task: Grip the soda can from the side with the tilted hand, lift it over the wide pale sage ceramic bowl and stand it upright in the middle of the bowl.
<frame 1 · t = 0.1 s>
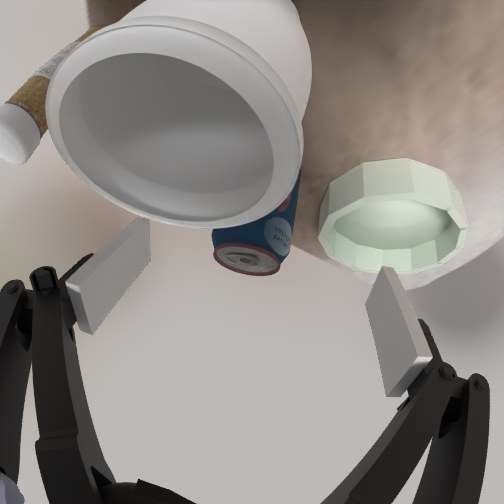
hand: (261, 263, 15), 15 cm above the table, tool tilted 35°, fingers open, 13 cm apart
bowl: (392, 211, 32), on the table
sprinkles bottle: (103, 43, 17), on the table
soda can: (269, 158, 29), on the table
jar: (243, 24, 16), on the table
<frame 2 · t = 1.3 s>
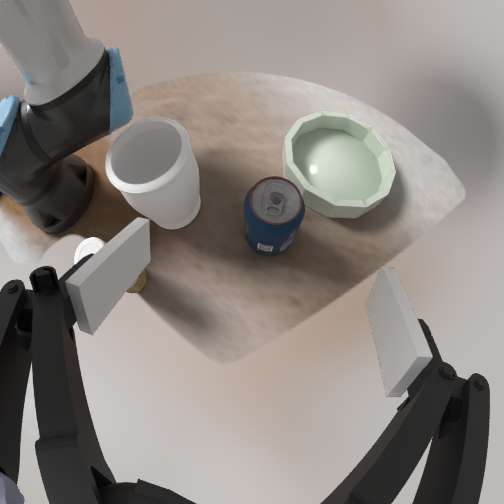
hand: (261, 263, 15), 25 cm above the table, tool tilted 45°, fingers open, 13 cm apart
bowl: (335, 168, 45), on the table
sprinkles bottle: (134, 278, 40), on the table
soda can: (269, 234, 42), on the table
jar: (175, 205, 43), on the table
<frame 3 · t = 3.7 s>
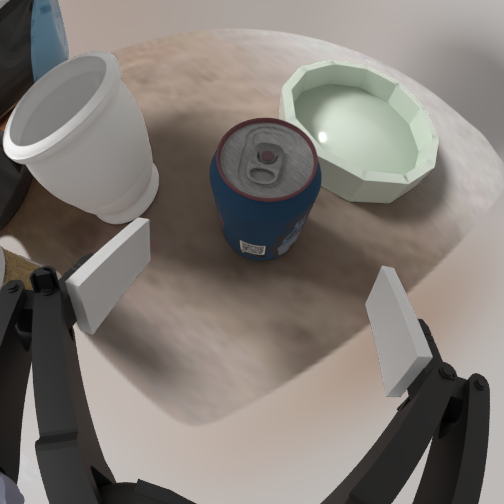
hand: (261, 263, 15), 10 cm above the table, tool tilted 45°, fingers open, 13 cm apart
bowl: (355, 134, 30), on the table
sprinkles bottle: (68, 296, 25), on the table
soda can: (260, 228, 27), on the table
jar: (125, 189, 28), on the table
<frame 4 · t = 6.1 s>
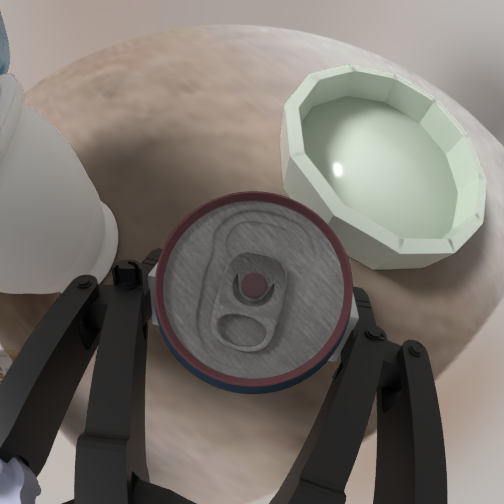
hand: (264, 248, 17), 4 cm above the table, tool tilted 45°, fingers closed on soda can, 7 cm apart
bowl: (381, 168, 23), on the table
sprinkles bottle: (28, 373, 18), on the table
soda can: (252, 312, 20), on the table, touching gripper
jar: (79, 246, 21), on the table
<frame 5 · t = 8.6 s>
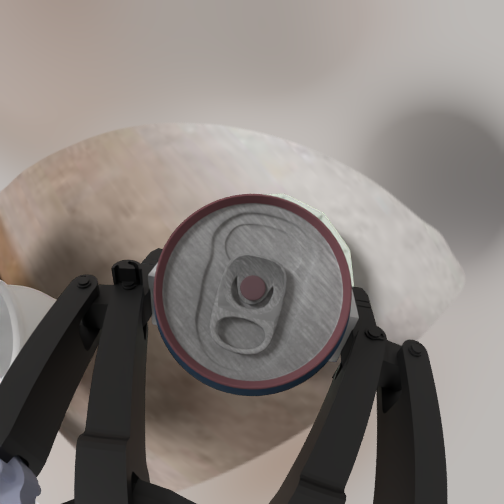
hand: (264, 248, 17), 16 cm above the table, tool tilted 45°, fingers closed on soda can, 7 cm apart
bowl: (264, 283, 33), on the table
soda can: (251, 313, 20), point 13 cm above the table, touching gripper
jar: (70, 337, 31), on the table
when the fingers open (6 cm above the table, at t = 11.2 s): soda can drops 1 cm, resting on bowl.
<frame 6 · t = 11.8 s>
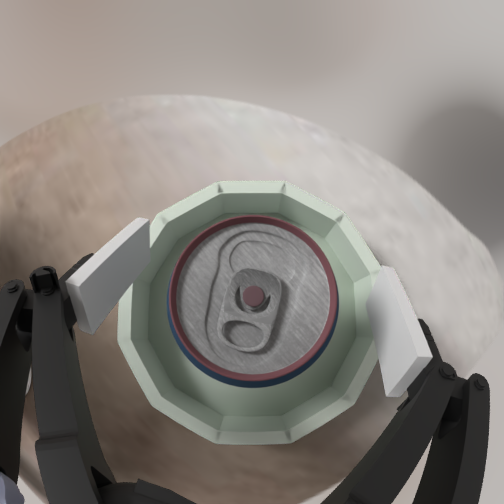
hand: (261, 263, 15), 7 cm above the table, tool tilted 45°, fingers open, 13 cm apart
bowl: (252, 314, 22), on the table
soda can: (252, 315, 21), point 1 cm above the table, touching bowl
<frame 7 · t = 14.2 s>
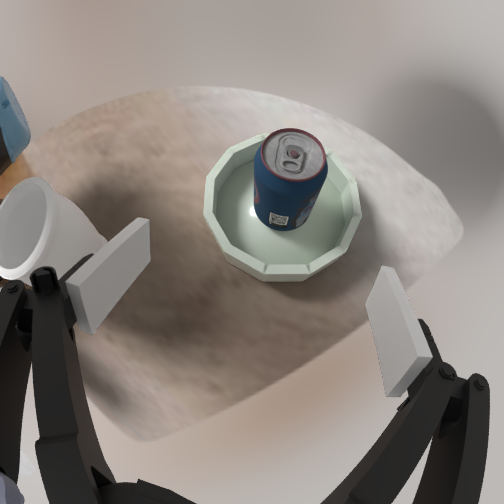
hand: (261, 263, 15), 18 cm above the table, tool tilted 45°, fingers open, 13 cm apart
bowl: (280, 211, 36), on the table
soda can: (281, 209, 35), point 1 cm above the table, touching bowl
jar: (89, 263, 34), on the table
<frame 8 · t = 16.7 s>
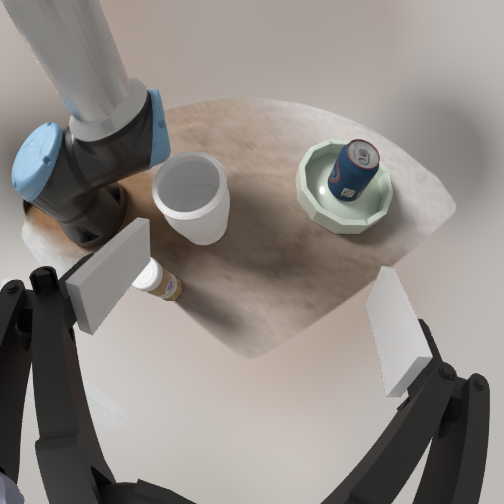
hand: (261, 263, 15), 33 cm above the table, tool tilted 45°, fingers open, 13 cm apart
bowl: (341, 190, 53), on the table
sprinkles bottle: (170, 288, 48), on the table
soda can: (342, 188, 52), point 1 cm above the table, touching bowl
jar: (204, 223, 51), on the table
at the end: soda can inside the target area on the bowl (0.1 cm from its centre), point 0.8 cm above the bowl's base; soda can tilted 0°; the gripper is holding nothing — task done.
